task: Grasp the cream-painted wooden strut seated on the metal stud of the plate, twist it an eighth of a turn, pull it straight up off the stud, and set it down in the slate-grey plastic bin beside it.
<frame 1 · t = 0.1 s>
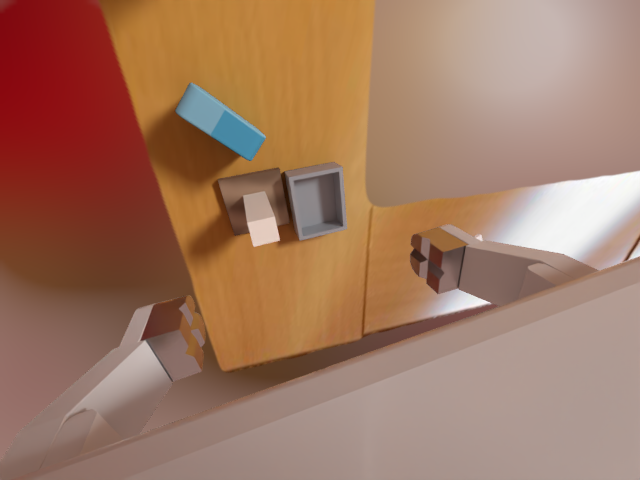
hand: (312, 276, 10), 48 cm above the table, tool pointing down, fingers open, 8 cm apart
bin: (313, 197, 60), on the table
strut: (256, 203, 55), point 1 cm above the table, touching stud plate
stud plate: (255, 201, 57), on the table
data package: (224, 120, 49), on the table
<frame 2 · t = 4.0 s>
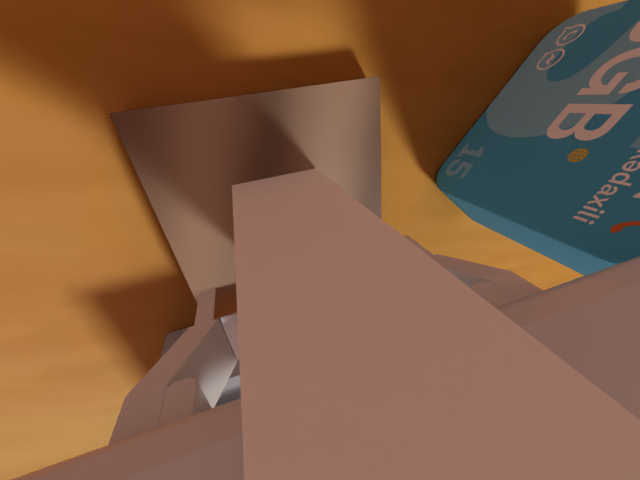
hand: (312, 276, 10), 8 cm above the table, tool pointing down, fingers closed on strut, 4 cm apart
bin: (284, 353, 22), on the table
strut: (283, 215, 15), point 2 cm above the table, touching gripper, stud plate
stud plate: (278, 206, 16), on the table
data package: (499, 127, 19), on the table
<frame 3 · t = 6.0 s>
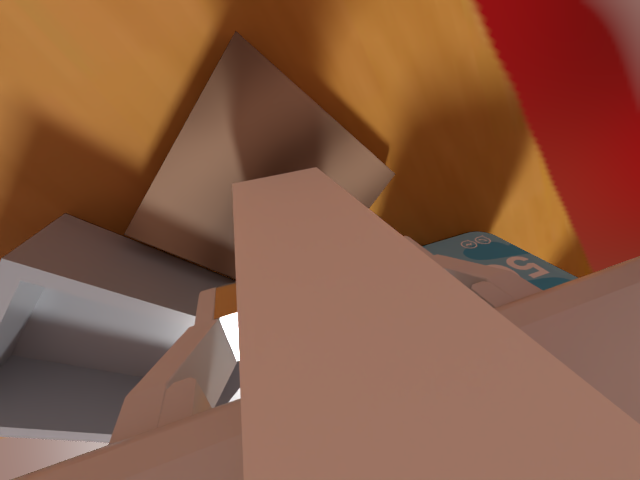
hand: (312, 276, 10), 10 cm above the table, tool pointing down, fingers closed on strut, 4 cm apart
bin: (153, 320, 20), on the table
strut: (283, 214, 15), point 4 cm above the table, touching gripper
stud plate: (270, 194, 18), on the table
data package: (423, 262, 26), on the table
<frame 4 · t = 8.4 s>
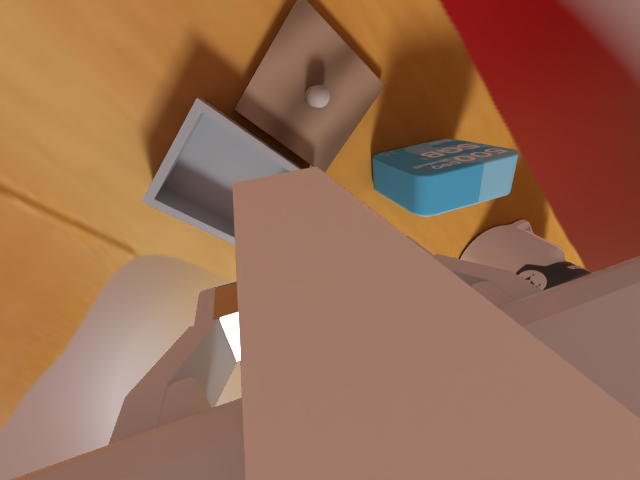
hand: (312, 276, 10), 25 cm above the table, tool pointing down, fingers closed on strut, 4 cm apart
bin: (237, 180, 32), on the table
strut: (283, 213, 15), point 19 cm above the table, touching gripper
stud plate: (310, 96, 30), on the table
data package: (407, 162, 38), on the table
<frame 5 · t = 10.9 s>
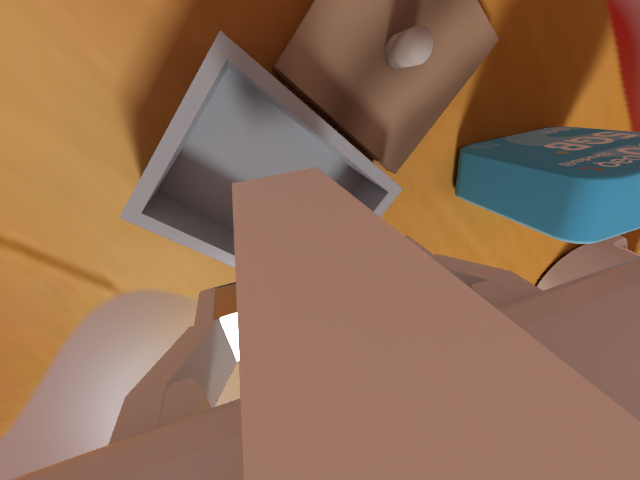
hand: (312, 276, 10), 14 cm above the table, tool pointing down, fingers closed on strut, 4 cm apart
bin: (269, 181, 21), on the table
strut: (283, 213, 15), point 7 cm above the table, touching gripper
stud plate: (386, 55, 20), on the table
data package: (499, 159, 27), on the table
when the fingers open (9 cm above the table, at t = 12.7 s): strut drops 2 cm, resting on bin.
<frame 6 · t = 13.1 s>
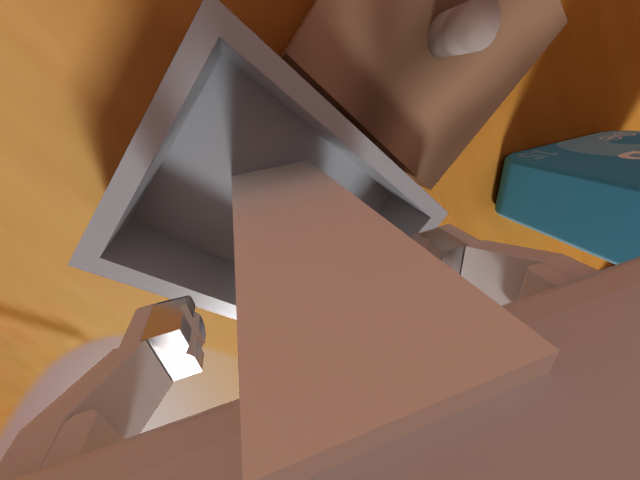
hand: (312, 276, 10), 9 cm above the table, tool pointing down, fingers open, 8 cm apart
bin: (275, 200, 17), on the table
strut: (278, 203, 16), point 1 cm above the table, touching bin
stud plate: (425, 40, 15), on the table
data package: (545, 168, 23), on the table
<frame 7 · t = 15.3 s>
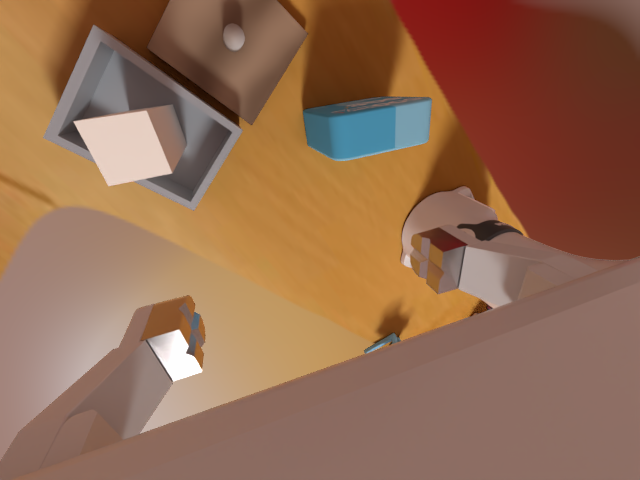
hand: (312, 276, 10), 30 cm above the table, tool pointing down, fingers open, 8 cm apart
bin: (160, 128, 31), on the table
strut: (159, 128, 31), point 1 cm above the table, touching bin
stud plate: (232, 42, 30), on the table
data package: (342, 120, 38), on the table
light blue frame stand: (383, 345, 66), on the table
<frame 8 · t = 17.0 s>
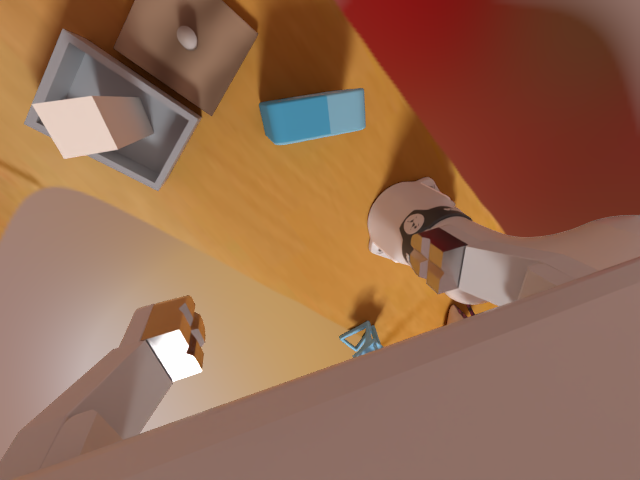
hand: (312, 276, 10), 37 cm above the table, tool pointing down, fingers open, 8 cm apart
bin: (130, 118, 36), on the table
strut: (128, 118, 35), point 1 cm above the table, touching bin
stud plate: (190, 42, 34), on the table
data package: (299, 112, 42), on the table
light blue frame stand: (358, 332, 69), on the table
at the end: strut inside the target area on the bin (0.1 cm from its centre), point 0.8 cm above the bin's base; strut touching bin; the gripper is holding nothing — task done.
